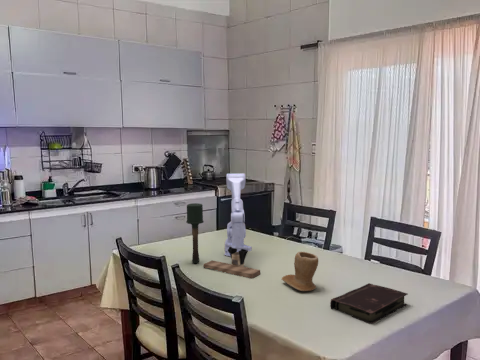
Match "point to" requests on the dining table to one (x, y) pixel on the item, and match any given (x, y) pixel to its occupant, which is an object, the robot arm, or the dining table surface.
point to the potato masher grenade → (195, 226)
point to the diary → (369, 302)
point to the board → (232, 269)
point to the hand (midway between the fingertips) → (238, 263)
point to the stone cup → (303, 272)
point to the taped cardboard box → (236, 259)
